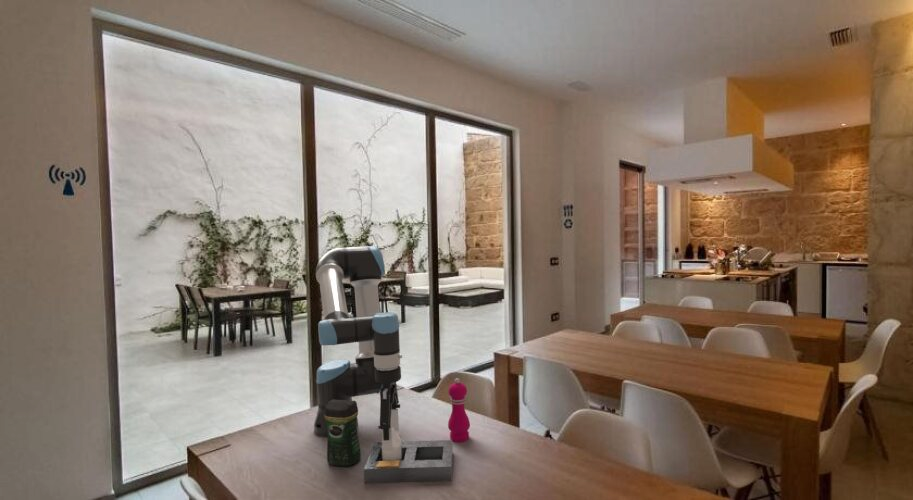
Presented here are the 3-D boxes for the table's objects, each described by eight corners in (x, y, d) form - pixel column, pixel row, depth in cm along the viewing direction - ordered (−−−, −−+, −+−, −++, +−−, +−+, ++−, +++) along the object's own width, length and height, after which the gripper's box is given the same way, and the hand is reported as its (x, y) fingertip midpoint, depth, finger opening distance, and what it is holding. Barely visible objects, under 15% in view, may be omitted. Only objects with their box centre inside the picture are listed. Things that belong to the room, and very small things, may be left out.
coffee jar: (364, 456, 144) (361, 397, 143) (351, 469, 136) (348, 407, 135) (337, 453, 147) (334, 395, 146) (322, 465, 139) (319, 404, 138)
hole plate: (375, 455, 144) (374, 441, 144) (452, 452, 144) (452, 438, 144) (364, 483, 128) (363, 467, 128) (451, 480, 128) (450, 465, 128)
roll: (391, 433, 132) (376, 429, 135) (393, 474, 132) (378, 470, 135) (404, 425, 137) (389, 421, 140) (406, 465, 137) (391, 460, 140)
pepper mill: (468, 443, 150) (465, 382, 149) (446, 442, 151) (443, 381, 150) (472, 433, 157) (469, 375, 156) (451, 432, 158) (448, 374, 157)
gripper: (394, 379, 123) (397, 460, 124) (405, 354, 147) (408, 422, 148) (365, 380, 123) (369, 460, 124) (382, 355, 147) (385, 422, 148)
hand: (391, 439), depth 136 cm, fingers open, 12 cm apart
